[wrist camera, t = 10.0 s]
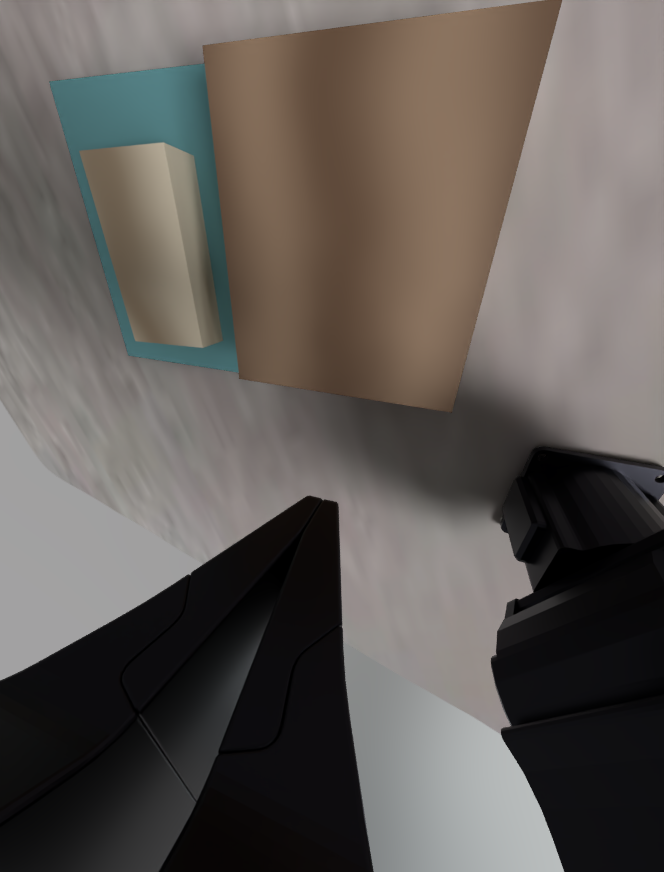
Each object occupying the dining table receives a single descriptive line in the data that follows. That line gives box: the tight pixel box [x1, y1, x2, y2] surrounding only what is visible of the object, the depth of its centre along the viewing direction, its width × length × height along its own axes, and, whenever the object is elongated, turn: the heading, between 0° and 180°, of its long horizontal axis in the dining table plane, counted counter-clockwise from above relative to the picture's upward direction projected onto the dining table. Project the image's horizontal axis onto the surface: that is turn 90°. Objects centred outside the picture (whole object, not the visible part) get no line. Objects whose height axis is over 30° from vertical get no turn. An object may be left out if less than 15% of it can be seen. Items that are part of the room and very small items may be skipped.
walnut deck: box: [203, 0, 562, 413], centre depth 14 cm, size 11×12×4 cm
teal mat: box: [49, 64, 239, 372], centre depth 18 cm, size 11×14×1 cm
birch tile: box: [79, 142, 223, 348], centre depth 17 cm, size 5×9×2 cm, turn 0°
